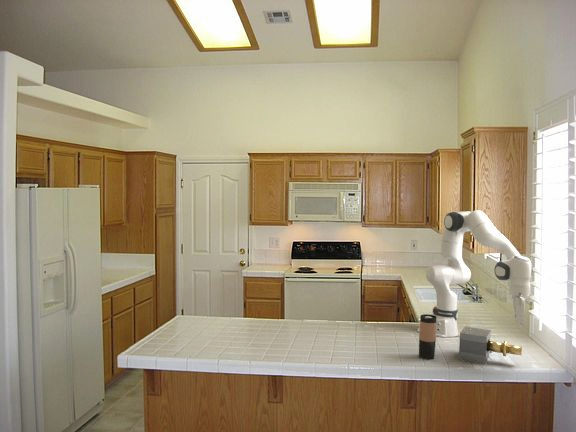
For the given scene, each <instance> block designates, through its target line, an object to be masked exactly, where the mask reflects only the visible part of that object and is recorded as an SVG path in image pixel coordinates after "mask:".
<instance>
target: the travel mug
mask: <svg viewBox="0 0 576 432" xmlns="http://www.w3.org/2000/svg"><path fill="white" fill-rule="evenodd" d="M419 319H420V320H419V327H420V332H419V334H418V336H419V340H418V357H419V359H422V360H428V361H429V360H430V361H431V360H434V359H435V353H436V343H437V342H436V341H437V340H436V338H437V336H436V320H437V317H436V316H434V315H431V314H430V313H429V314H428V313H426V314H424V313H423V314H421V315H420V318H419Z"/></svg>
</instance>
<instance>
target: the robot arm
mask: <svg viewBox="0 0 576 432" xmlns="http://www.w3.org/2000/svg"><path fill="white" fill-rule="evenodd" d="M443 224H444V228H443V232H442V238H441V245H440V246H441V247H440V253H441V255H442V256H443V257H444V258H446V259H447V264H433V265H429V266H428V268H427V269H426V271H425V277H426V280H427V281H428V282H429V283H430V284H431V285H432V286H433V288H434V290H435V294H436V306H434V307H433V308H432V314H430V315H434V316H436V317H437V320H436V337H440V338H449V337H450V338H451V337H452V338H453V337H458V336H460V332H459V330H458V329H459V328H458V316H459V311H458V294H456V292H454V291H453V290H451V288H450V285H461V284H462V285H463V284H465V283H468V282H469V281H470V280H471V277H472V273H471V270H470V268H469V267H468V266H467V265H466V263H465V262H464V260H463V243H464V235H465V233H468V232H469V233H471V234H472V236H473V238H474V240H475V241H476V242H477V243H478V244H479V245H481V246H483V247H486V248H492V249H494V250H497V251H500V252H501V253H502V254H503V255H504V256H505V258H506V259H504V260H500V261H498V262H497V263H496V264H495V265H494V269H493V270H494V275H495V277H496V278H497V279H498V280H499V281H502V282H508V281H509V290H508V291H509V292H508V294H509V295H510V296H511V299H512V306H513V309H514V314H515V315H514V318H515V322H516V324H519V325H520V324H522V323H521V321H522V317H523V316H524V315H525V308H526V307H525V305H526V301H527V298H528V297H530V296H531V278H532V275H533V273H534V271H533V266H532V262H531V259H530V258H528V257H527V256H525V255H524V256H523V255H521V253H520V252H519V251H518V250H517V248H516V247H515V245H513V244H512V242H511V241H510V240H509V239H508V238H507V237H506V236H505V235H503V234H502V233H501V232H500V231H499V230H498V229H497V227H495V226H494V224H493V223H492V221H491V220H490V218H489V217H488V215H486V214H485V213H484V212H483V211H482V210H481V209H480V210H478V209H476V210H472V211H468V210H467V211H466V210H465V211H464V210H463V211H452V212H449V213H446V215H445V216H444V220H443ZM416 331H417V333H420V326H419V327H418V328H417V330H416Z"/></svg>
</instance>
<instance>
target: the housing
mask: <svg viewBox="0 0 576 432" xmlns="http://www.w3.org/2000/svg"><path fill="white" fill-rule="evenodd" d="M491 332H492V331H491V329H486V328H480V327H471V326H466V325H465V326H464V327H463V328H462V330H461V331H460V332H459V343H458V344H459V347H458V348H459V349H458V360H459V361H463V360H464V361H465V362H469V363H475V364H480V363H481V364H482V365H486V364H487V362H488V359H489V358H490V353H491V352H490V351H487V343H488V341H491V335H492V334H491Z"/></svg>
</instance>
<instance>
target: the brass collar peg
mask: <svg viewBox="0 0 576 432" xmlns="http://www.w3.org/2000/svg"><path fill="white" fill-rule="evenodd" d="M487 351H491V352H492V353H498V354H502V356H503V357H507V355H508V354H510V355H514V356H522V354H523V353H522V352H523V346H519V345H511V344H508V341H507V340H504V341H503V342H501V341H500V342H499V341H495V340H494V341H492V340H490V341H488V343H487ZM491 352H490V353H491Z"/></svg>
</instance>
